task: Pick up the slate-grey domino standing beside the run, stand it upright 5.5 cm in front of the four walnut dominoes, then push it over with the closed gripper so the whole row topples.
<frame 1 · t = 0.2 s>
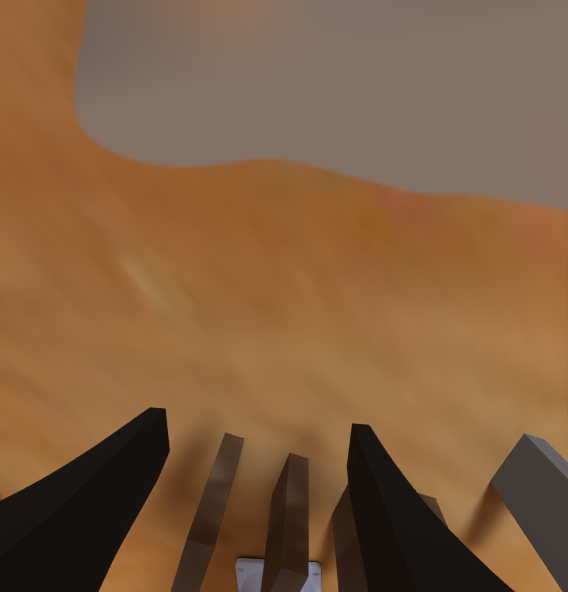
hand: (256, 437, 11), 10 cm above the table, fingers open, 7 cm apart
domino 3: (289, 477, 25), on the table
domino 2: (351, 497, 25), on the table
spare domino: (516, 461, 23), on the table
domino 4: (227, 458, 25), on the table
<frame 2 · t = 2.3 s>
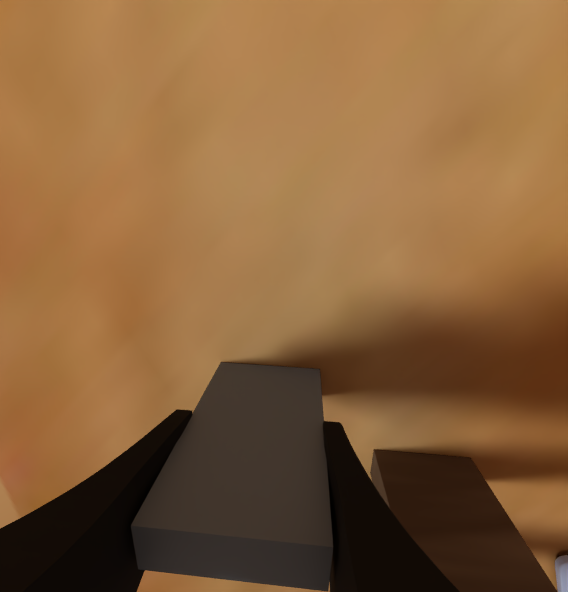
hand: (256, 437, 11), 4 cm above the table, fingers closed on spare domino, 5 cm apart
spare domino: (269, 379, 15), on the table, touching gripper
domino 1: (419, 465, 16), on the table
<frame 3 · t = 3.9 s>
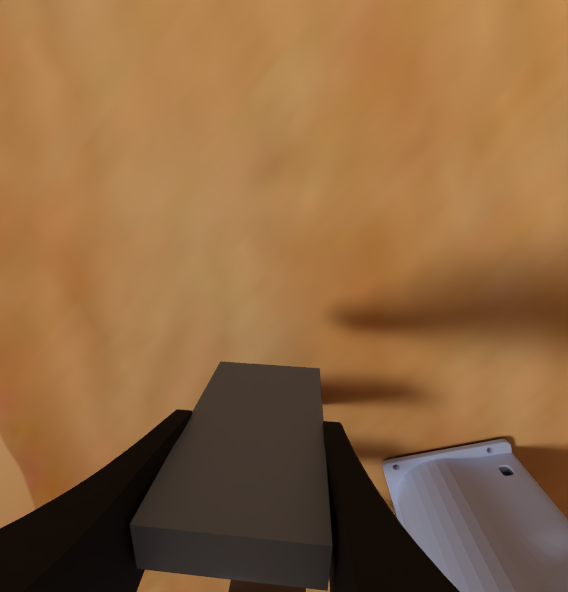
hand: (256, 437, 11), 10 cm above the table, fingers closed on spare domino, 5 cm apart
domino 3: (277, 500, 26), on the table
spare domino: (269, 378, 15), point 6 cm above the table, touching gripper
when the fingers open (5 cm above the table, at t = 5.8 s): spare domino drops 1 cm, on the table.
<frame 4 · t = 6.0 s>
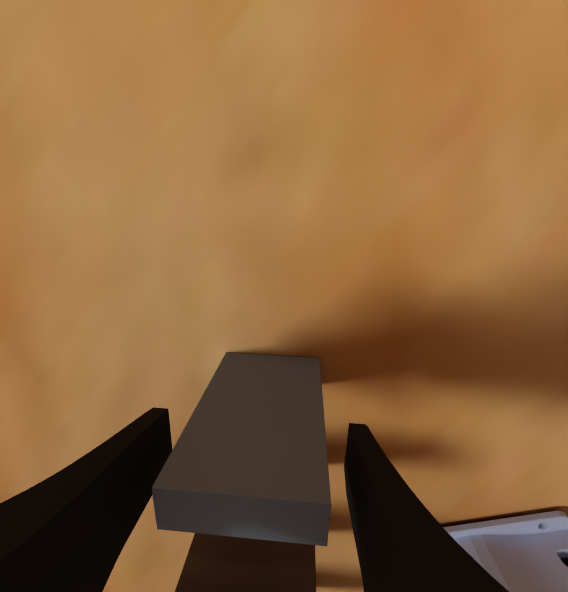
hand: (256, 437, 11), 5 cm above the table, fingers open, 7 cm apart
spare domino: (272, 368, 16), on the table
domino 1: (269, 450, 18), on the table
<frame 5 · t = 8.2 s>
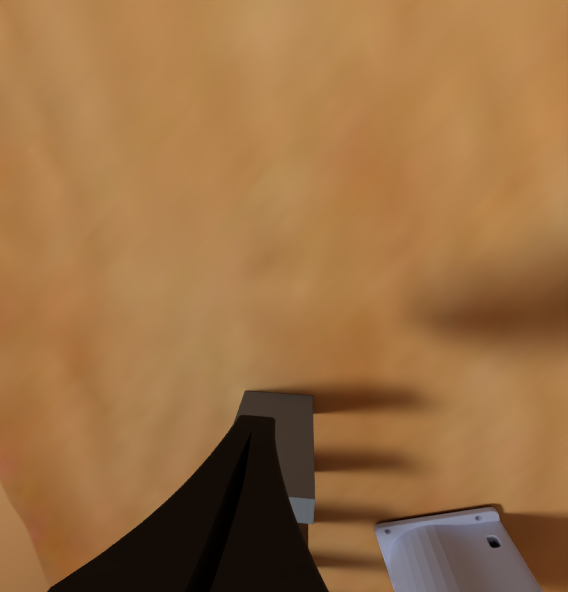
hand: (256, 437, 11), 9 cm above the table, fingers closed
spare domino: (278, 402, 22), on the table
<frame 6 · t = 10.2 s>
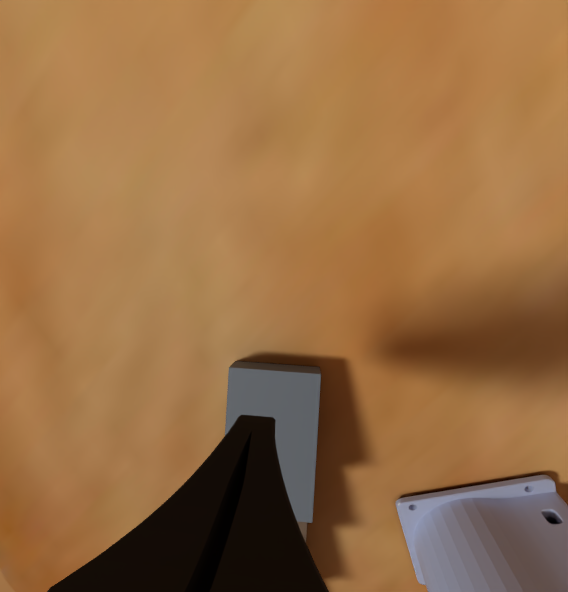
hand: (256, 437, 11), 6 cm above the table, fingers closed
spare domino: (275, 367, 17), point 1 cm above the table, tilted 73°, touching domino 1
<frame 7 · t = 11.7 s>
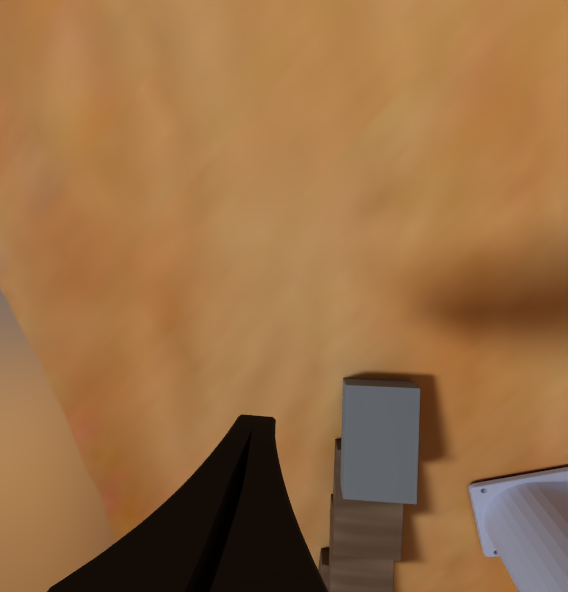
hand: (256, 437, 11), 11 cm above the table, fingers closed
domino 3: (349, 561, 26), point 1 cm above the table, tilted 75°
domino 2: (362, 503, 24), point 1 cm above the table, tilted 75°, touching domino 1
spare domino: (379, 383, 21), point 1 cm above the table, tilted 74°, touching domino 1
domino 1: (369, 446, 23), point 1 cm above the table, tilted 74°, touching domino 2, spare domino
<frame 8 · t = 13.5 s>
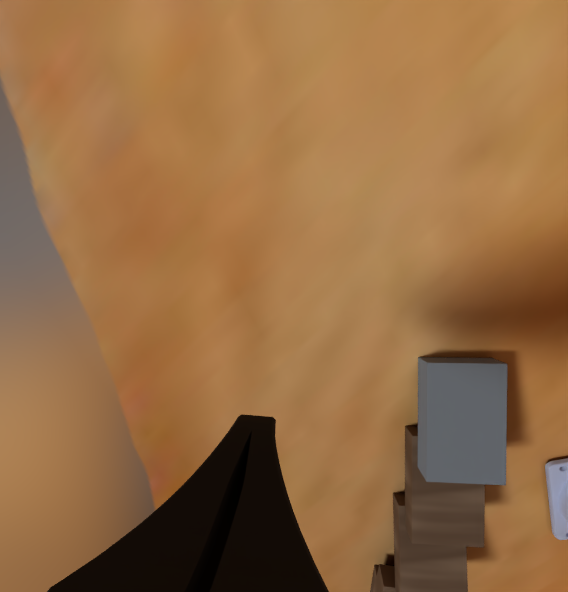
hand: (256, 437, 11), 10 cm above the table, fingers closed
domino 3: (411, 579, 25), point 2 cm above the table, tilted 90°, touching domino 4
domino 2: (427, 500, 24), point 1 cm above the table, tilted 71°, touching domino 1
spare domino: (460, 360, 20), point 1 cm above the table, tilted 75°, touching domino 1
domino 1: (443, 431, 22), point 1 cm above the table, tilted 75°, touching domino 2, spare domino
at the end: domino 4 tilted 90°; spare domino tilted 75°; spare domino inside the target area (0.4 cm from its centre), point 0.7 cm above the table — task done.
